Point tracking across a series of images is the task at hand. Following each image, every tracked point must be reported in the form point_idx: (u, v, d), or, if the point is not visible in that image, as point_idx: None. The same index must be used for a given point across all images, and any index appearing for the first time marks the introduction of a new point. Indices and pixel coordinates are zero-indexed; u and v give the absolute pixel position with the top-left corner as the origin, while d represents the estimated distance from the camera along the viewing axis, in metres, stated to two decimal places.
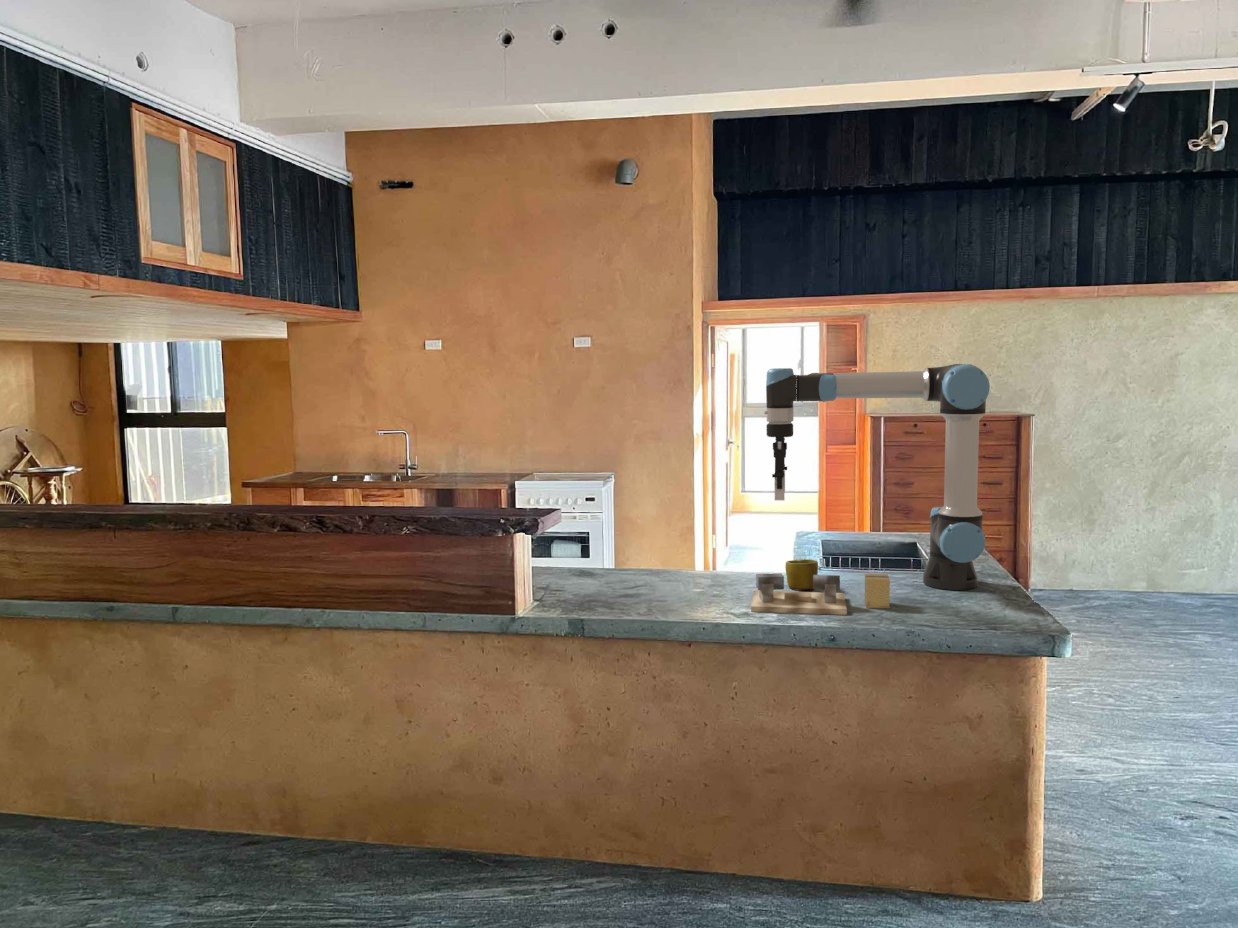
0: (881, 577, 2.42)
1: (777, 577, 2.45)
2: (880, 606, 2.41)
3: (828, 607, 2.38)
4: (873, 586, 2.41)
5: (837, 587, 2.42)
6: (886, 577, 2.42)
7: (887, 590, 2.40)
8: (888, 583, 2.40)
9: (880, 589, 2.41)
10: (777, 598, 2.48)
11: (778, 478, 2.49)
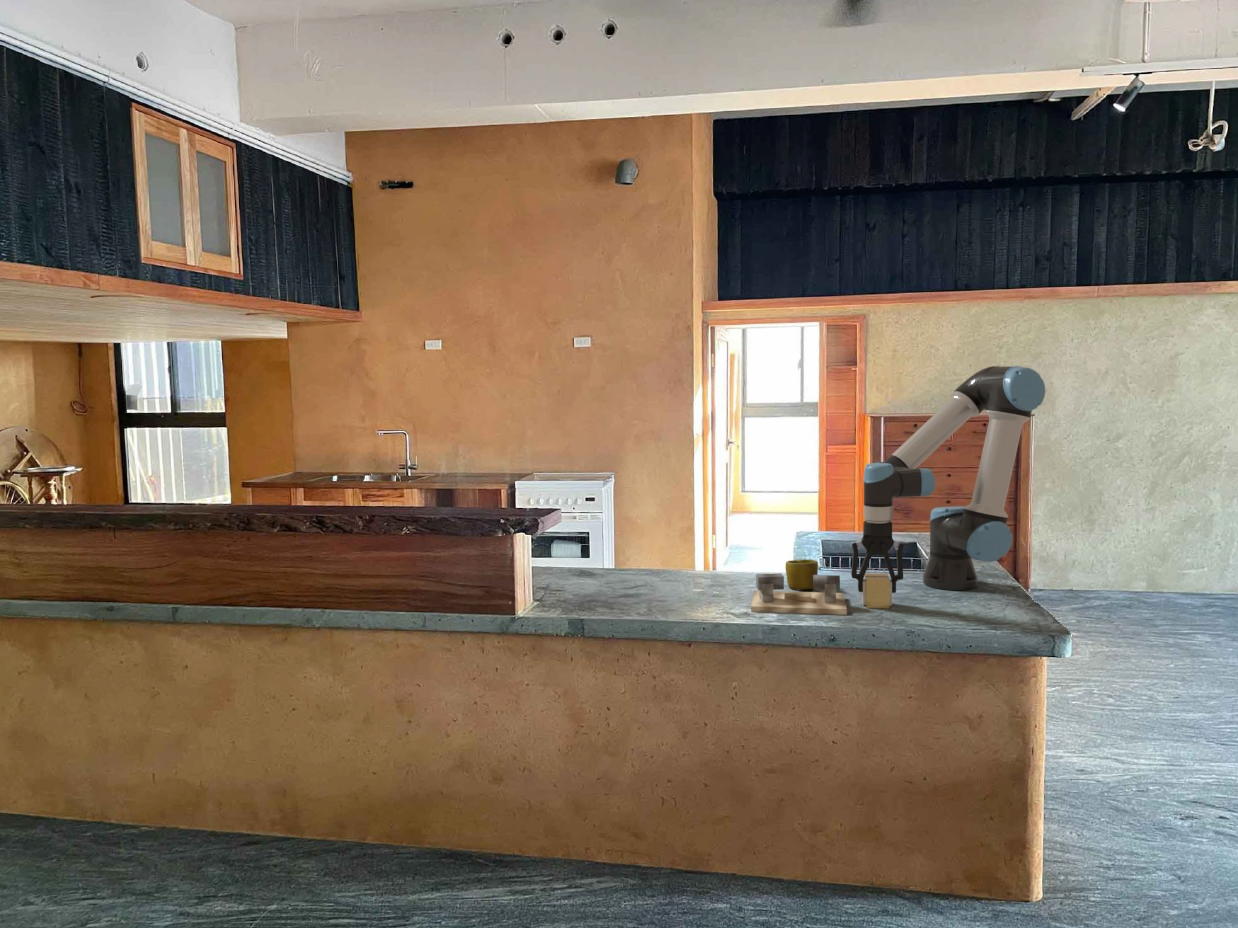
0: (881, 577, 2.42)
1: (777, 577, 2.45)
2: (880, 606, 2.41)
3: (828, 607, 2.38)
4: (873, 586, 2.41)
5: (837, 587, 2.42)
6: (886, 577, 2.42)
7: (887, 590, 2.40)
8: (888, 583, 2.40)
9: (880, 589, 2.41)
10: (777, 598, 2.48)
11: None
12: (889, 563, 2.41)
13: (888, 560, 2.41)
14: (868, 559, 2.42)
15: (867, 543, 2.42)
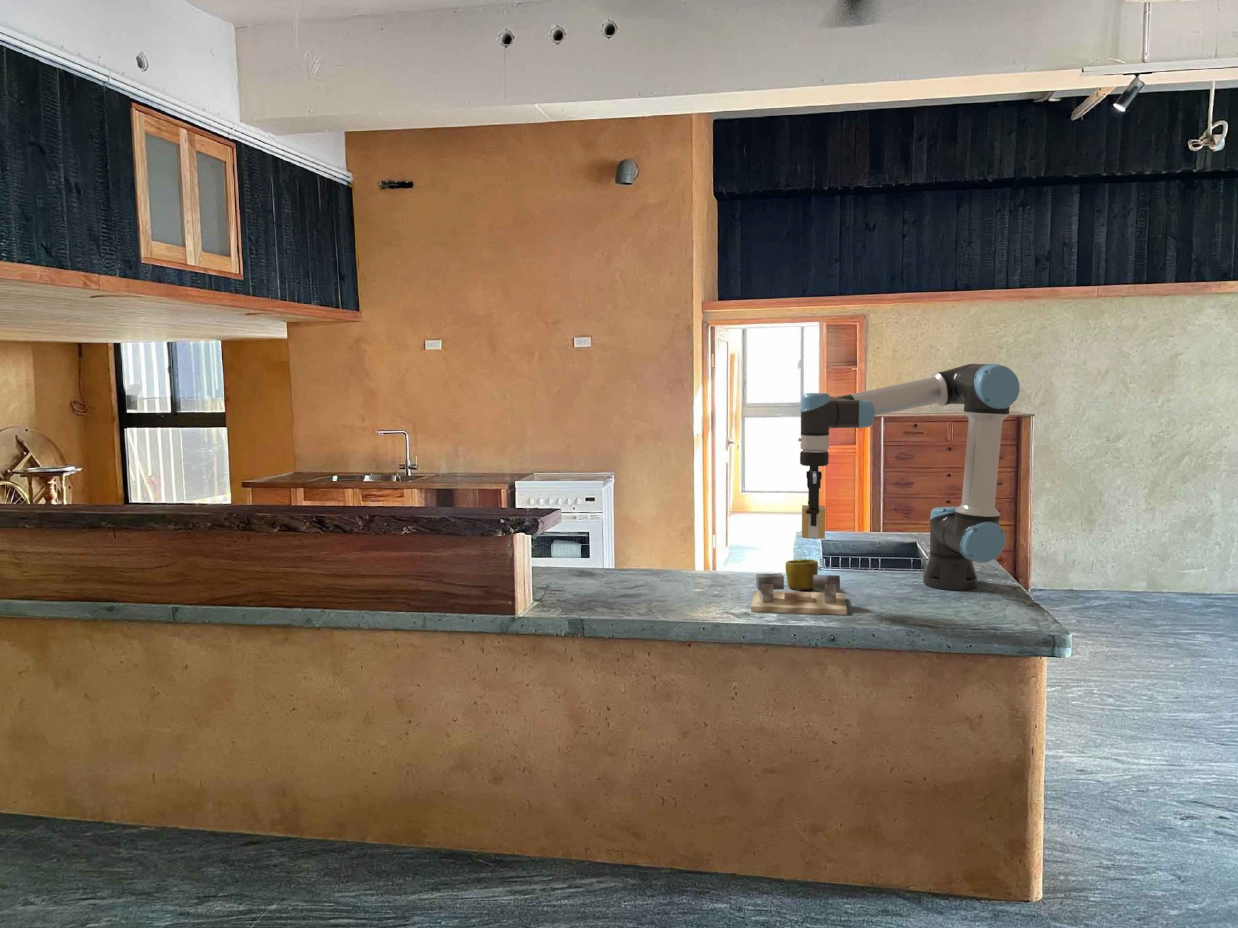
0: None
1: (777, 577, 2.45)
2: None
3: (828, 607, 2.38)
4: None
5: (837, 587, 2.42)
6: None
7: None
8: None
9: None
10: (777, 598, 2.48)
11: (812, 515, 2.38)
12: None
13: None
14: None
15: None
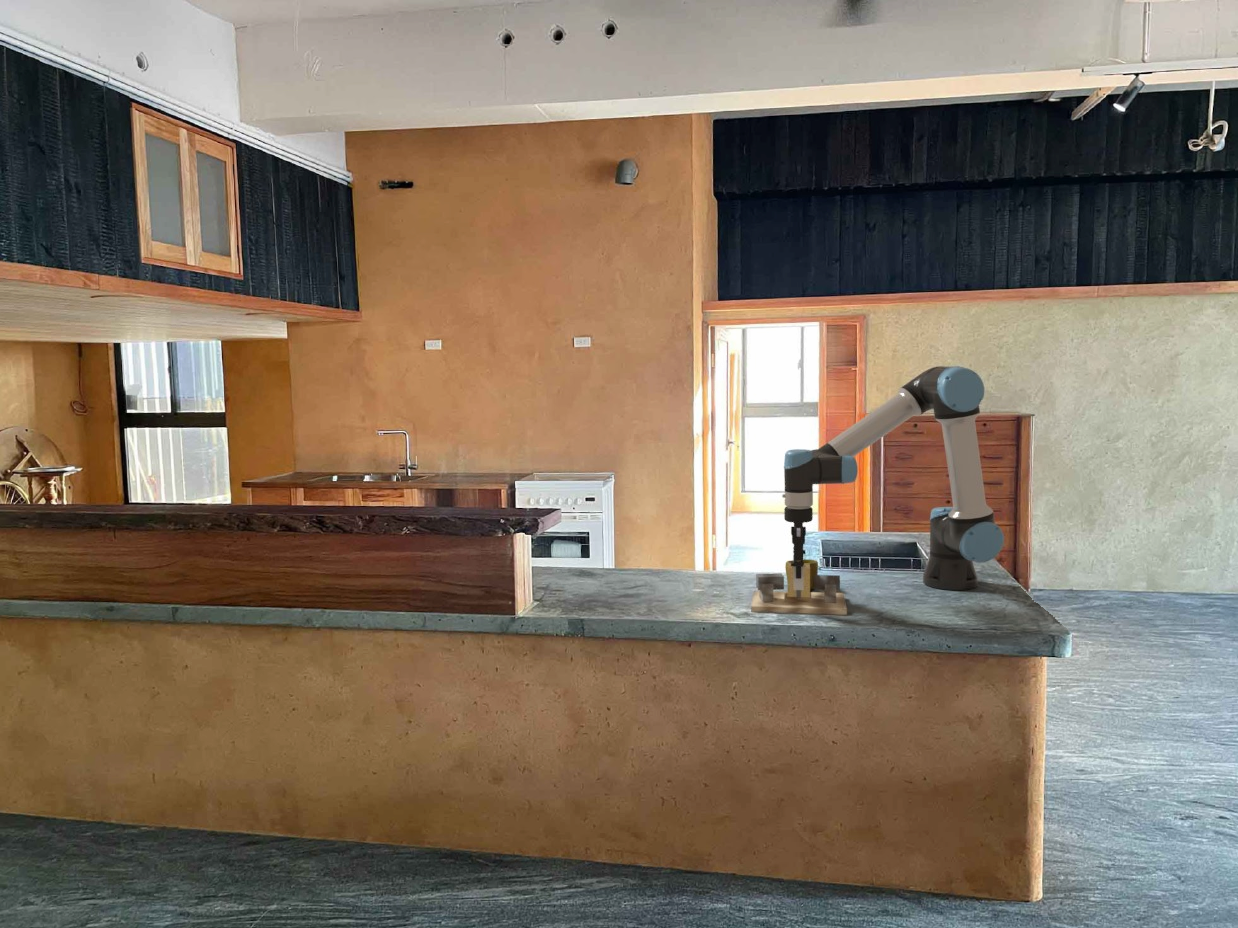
0: None
1: (777, 577, 2.45)
2: None
3: (828, 607, 2.38)
4: None
5: (837, 587, 2.42)
6: None
7: None
8: None
9: None
10: (777, 598, 2.48)
11: (797, 567, 2.37)
12: None
13: None
14: None
15: None
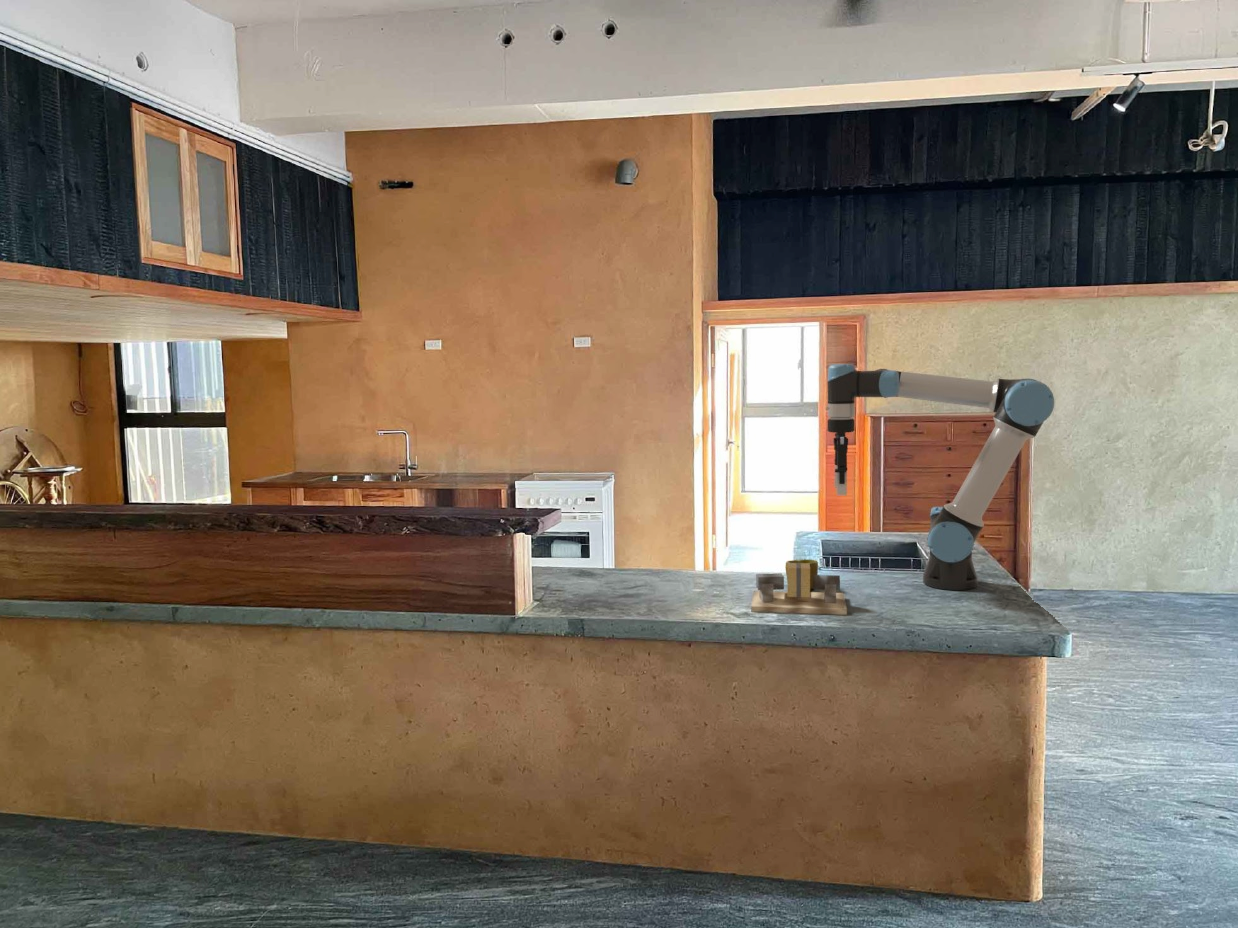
0: (802, 564, 2.46)
1: (777, 577, 2.45)
2: None
3: (828, 607, 2.38)
4: None
5: (837, 587, 2.42)
6: (801, 563, 2.47)
7: None
8: None
9: None
10: (777, 598, 2.48)
11: (841, 473, 2.50)
12: None
13: None
14: None
15: None
